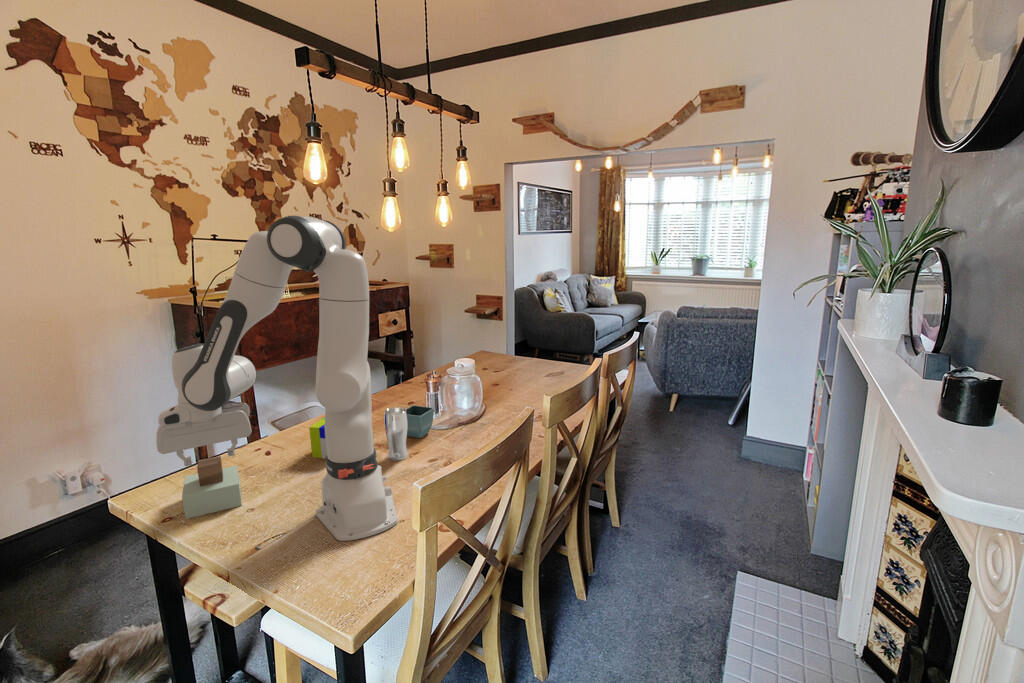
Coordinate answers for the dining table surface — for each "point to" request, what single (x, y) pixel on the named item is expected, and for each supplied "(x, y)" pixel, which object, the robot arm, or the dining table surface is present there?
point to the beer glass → (396, 432)
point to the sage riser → (211, 494)
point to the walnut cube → (210, 471)
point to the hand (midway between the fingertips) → (210, 460)
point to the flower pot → (419, 420)
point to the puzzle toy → (318, 439)
